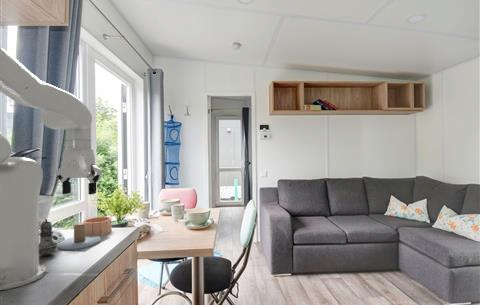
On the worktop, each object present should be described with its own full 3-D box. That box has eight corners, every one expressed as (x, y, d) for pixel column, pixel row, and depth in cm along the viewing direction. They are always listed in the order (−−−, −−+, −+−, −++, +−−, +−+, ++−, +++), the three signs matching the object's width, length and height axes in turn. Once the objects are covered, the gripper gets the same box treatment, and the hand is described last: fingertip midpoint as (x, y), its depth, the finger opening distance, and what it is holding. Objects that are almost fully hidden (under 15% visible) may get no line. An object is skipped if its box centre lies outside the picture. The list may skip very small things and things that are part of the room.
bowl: (101, 237, 102) (101, 223, 101) (77, 237, 102) (77, 222, 102) (116, 229, 111) (116, 216, 111) (93, 229, 112) (93, 216, 112)
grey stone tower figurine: (29, 259, 81) (29, 220, 81) (48, 252, 87) (48, 216, 87) (44, 261, 80) (43, 221, 79) (62, 254, 85) (61, 217, 85)
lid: (84, 250, 87) (84, 230, 87) (47, 249, 88) (47, 229, 88) (108, 237, 100) (107, 219, 100) (75, 237, 101) (75, 219, 101)
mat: (85, 252, 86) (84, 251, 86) (45, 251, 88) (45, 250, 88) (110, 238, 100) (110, 237, 100) (75, 237, 101) (75, 236, 101)
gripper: (48, 145, 91) (48, 195, 91) (95, 145, 89) (95, 195, 89) (64, 146, 98) (64, 192, 98) (108, 145, 97) (108, 192, 97)
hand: (79, 193), depth 94 cm, fingers open, 9 cm apart
